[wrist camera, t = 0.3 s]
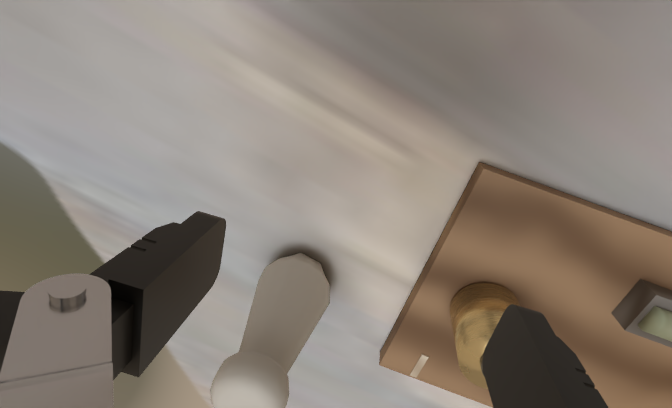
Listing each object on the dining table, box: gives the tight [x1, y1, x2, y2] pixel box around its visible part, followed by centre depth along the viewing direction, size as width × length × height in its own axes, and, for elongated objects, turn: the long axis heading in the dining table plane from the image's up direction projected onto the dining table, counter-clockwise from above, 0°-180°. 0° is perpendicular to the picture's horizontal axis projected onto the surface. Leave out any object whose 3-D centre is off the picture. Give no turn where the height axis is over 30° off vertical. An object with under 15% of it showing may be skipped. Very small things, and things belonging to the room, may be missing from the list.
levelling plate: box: [379, 162, 672, 408], centre depth 27 cm, size 19×29×5 cm, turn 72°
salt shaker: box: [210, 253, 330, 408], centre depth 26 cm, size 6×6×13 cm
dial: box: [450, 283, 520, 389], centre depth 27 cm, size 12×5×6 cm, turn 32°
